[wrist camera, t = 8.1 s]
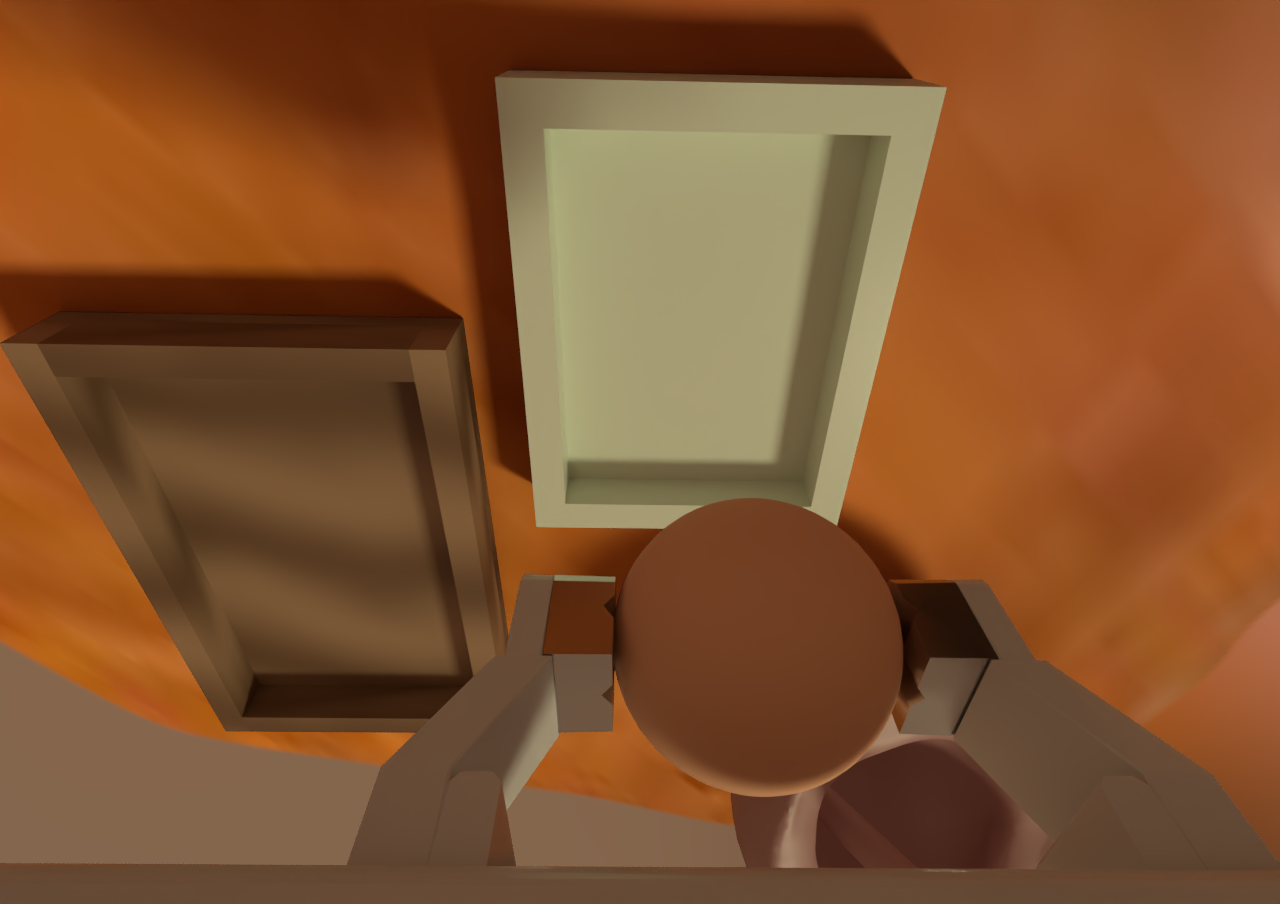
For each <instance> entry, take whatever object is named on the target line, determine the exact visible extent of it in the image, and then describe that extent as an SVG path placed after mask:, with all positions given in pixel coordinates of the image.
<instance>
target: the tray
mask: <svg viewBox="0 0 1280 904" xmlns="http://www.w3.org/2000/svg"><path fill="white" fill-rule="evenodd" d="M495 85H496V96H497V107H498V118H499V128H500V139H501V150H502V161H503V172H504V182H505V193H506V204H507V215H508V225H509V236H510V247H511V258H512V269H513V279H514V290H515V301H516V312H517V323H518V333H519V344H520V355H521V366H522V376H523V387H524V398H525V409H526V420H527V430H528V441H529V452H530V463H531V473H532V484H533V495H534V506H535V517H536V527H572V528H659V529H664V528H666V527H667V526H668V525H669V524H671V523H672V522H674V521H675V520H677V519H679V518H680V517H682V516H683V515H685V514H687V513H689V512H691V511H693V510H695V509H697V508H700V507H703V506H705V505H708V504H711V503H715V502H719V501H723V500H730V499H737V498H764V499H771V500H777V501H782V502H786V503H790V504H793V505H797V506H800V507H803V508H805V509H807V510H810V511H812V512H814V513H816V514H818V515H820V516H822V517H823V518H825V519H827V520H828V521H830V522H832V523H833V524H835V525H837V524H838V520H839V516H840V512H841V508H842V504H843V500H844V496H845V492H846V488H847V484H848V480H849V476H850V472H851V468H852V464H853V460H854V456H855V452H856V448H857V444H858V440H859V436H860V432H861V428H862V424H863V420H864V416H865V412H866V408H867V404H868V400H869V396H870V392H871V388H872V384H873V380H874V376H875V372H876V368H877V364H878V360H879V356H880V352H881V348H882V344H883V340H884V336H885V332H886V328H887V324H888V320H889V316H890V312H891V308H892V304H893V300H894V296H895V292H896V288H897V284H898V280H899V276H900V272H901V268H902V264H903V260H904V256H905V252H906V248H907V244H908V240H909V236H910V232H911V228H912V224H913V220H914V216H915V212H916V208H917V204H918V200H919V196H920V192H921V188H922V184H923V180H924V176H925V172H926V168H927V164H928V160H929V156H930V152H931V148H932V144H933V140H934V136H935V132H936V128H937V125H938V121H939V117H940V113H941V109H942V105H943V101H944V97H945V93H946V89H947V87H944V86H940V85H936V84H933V83H929V82H925V81H921V80H917V79H897V78H852V77H806V76H761V75H715V74H670V73H625V72H579V71H534V70H508V71H506V72H504V73H502V74H500V75H498V76H496V77H495Z"/></svg>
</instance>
